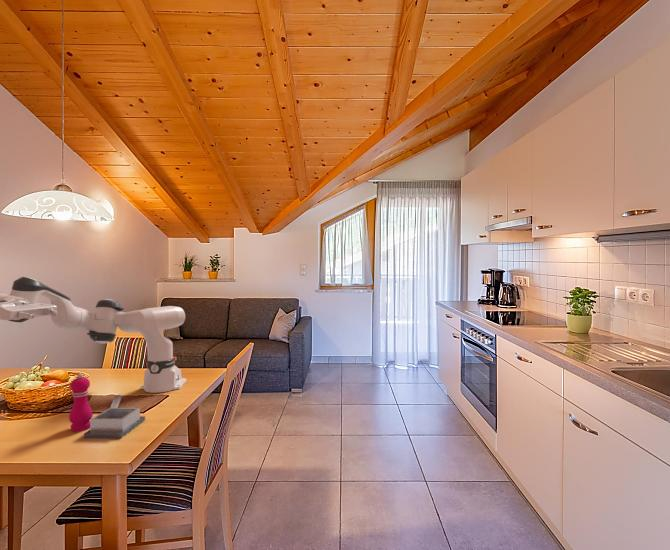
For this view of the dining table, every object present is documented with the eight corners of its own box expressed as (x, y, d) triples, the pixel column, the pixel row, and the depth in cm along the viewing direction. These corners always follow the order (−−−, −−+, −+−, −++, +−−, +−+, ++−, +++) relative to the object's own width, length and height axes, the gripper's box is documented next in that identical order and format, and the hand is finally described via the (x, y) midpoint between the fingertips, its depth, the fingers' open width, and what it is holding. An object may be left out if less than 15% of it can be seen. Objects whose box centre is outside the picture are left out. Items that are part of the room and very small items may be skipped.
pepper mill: (83, 423, 152) (82, 370, 151) (97, 426, 149) (96, 371, 148) (64, 430, 145) (63, 375, 145) (78, 433, 142) (77, 377, 142)
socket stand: (111, 419, 155) (111, 405, 155) (145, 420, 154) (144, 406, 154) (84, 437, 139) (83, 422, 139) (121, 438, 138) (120, 422, 138)
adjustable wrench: (115, 399, 177) (114, 395, 176) (131, 394, 178) (130, 391, 178) (100, 424, 153) (98, 420, 152) (118, 419, 154) (117, 415, 154)
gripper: (39, 313, 168) (67, 319, 165) (-13, 319, 148) (17, 327, 145) (41, 298, 168) (69, 304, 165) (-11, 302, 148) (19, 309, 145)
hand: (44, 315), depth 155 cm, fingers open, 8 cm apart
